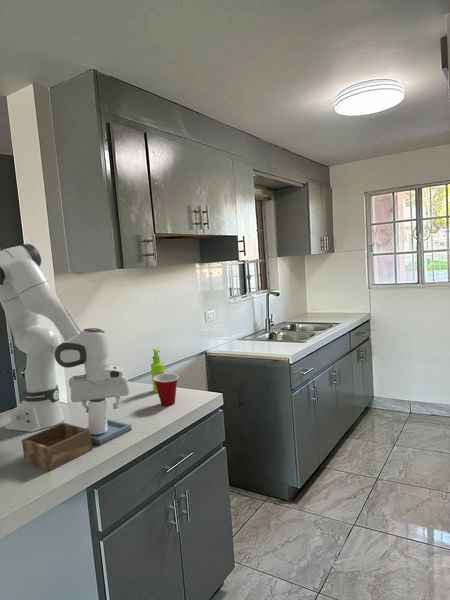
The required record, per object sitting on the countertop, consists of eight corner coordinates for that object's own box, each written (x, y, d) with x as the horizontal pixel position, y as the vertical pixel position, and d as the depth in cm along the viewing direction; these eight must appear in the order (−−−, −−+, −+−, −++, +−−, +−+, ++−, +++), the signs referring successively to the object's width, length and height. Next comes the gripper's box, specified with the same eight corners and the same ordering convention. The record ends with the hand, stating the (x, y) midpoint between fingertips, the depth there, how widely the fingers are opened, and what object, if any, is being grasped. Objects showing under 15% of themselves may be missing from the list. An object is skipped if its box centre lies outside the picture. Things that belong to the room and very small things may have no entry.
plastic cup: (175, 408, 168) (172, 380, 167) (151, 408, 171) (148, 380, 170) (185, 399, 178) (182, 372, 177) (162, 399, 181) (159, 372, 180)
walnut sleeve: (24, 460, 132) (21, 439, 131) (65, 441, 144) (63, 422, 143) (50, 471, 123) (47, 448, 122) (92, 450, 135) (89, 429, 135)
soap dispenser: (155, 393, 190) (151, 351, 188) (152, 390, 196) (148, 349, 194) (168, 391, 192) (163, 349, 190) (164, 387, 198) (160, 347, 196)
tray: (75, 438, 146) (74, 432, 146) (107, 423, 158) (106, 418, 157) (100, 445, 138) (99, 440, 138) (131, 429, 149) (131, 424, 149)
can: (103, 435, 144) (102, 402, 143) (85, 435, 144) (84, 401, 144) (110, 428, 150) (109, 396, 149) (93, 428, 151) (92, 396, 150)
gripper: (66, 378, 141) (70, 417, 143) (126, 371, 145) (130, 409, 146) (69, 374, 148) (73, 411, 149) (127, 367, 151) (130, 403, 153)
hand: (102, 410), depth 148 cm, fingers open, 8 cm apart
